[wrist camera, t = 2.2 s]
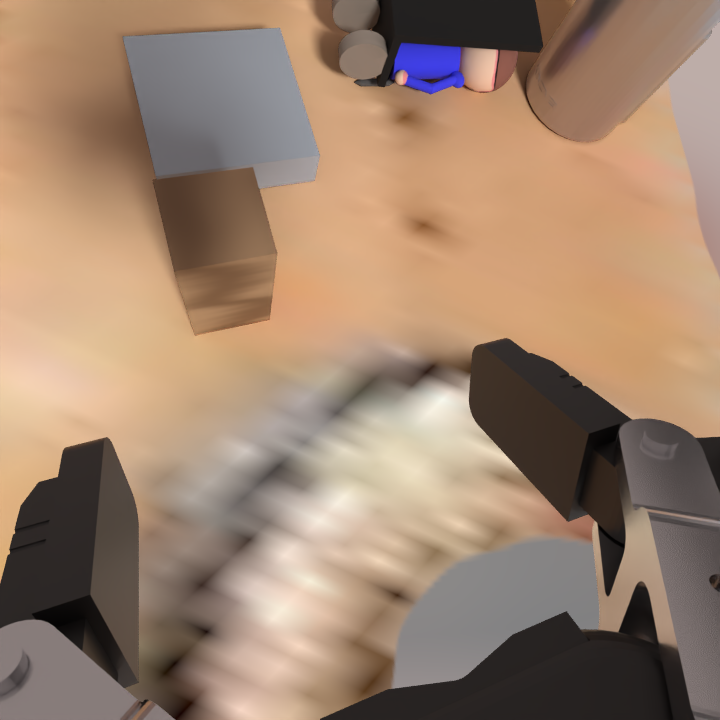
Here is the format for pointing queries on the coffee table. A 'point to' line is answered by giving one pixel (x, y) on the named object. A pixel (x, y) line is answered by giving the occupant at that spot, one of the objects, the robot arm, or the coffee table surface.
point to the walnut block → (219, 247)
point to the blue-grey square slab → (222, 105)
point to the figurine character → (435, 41)
